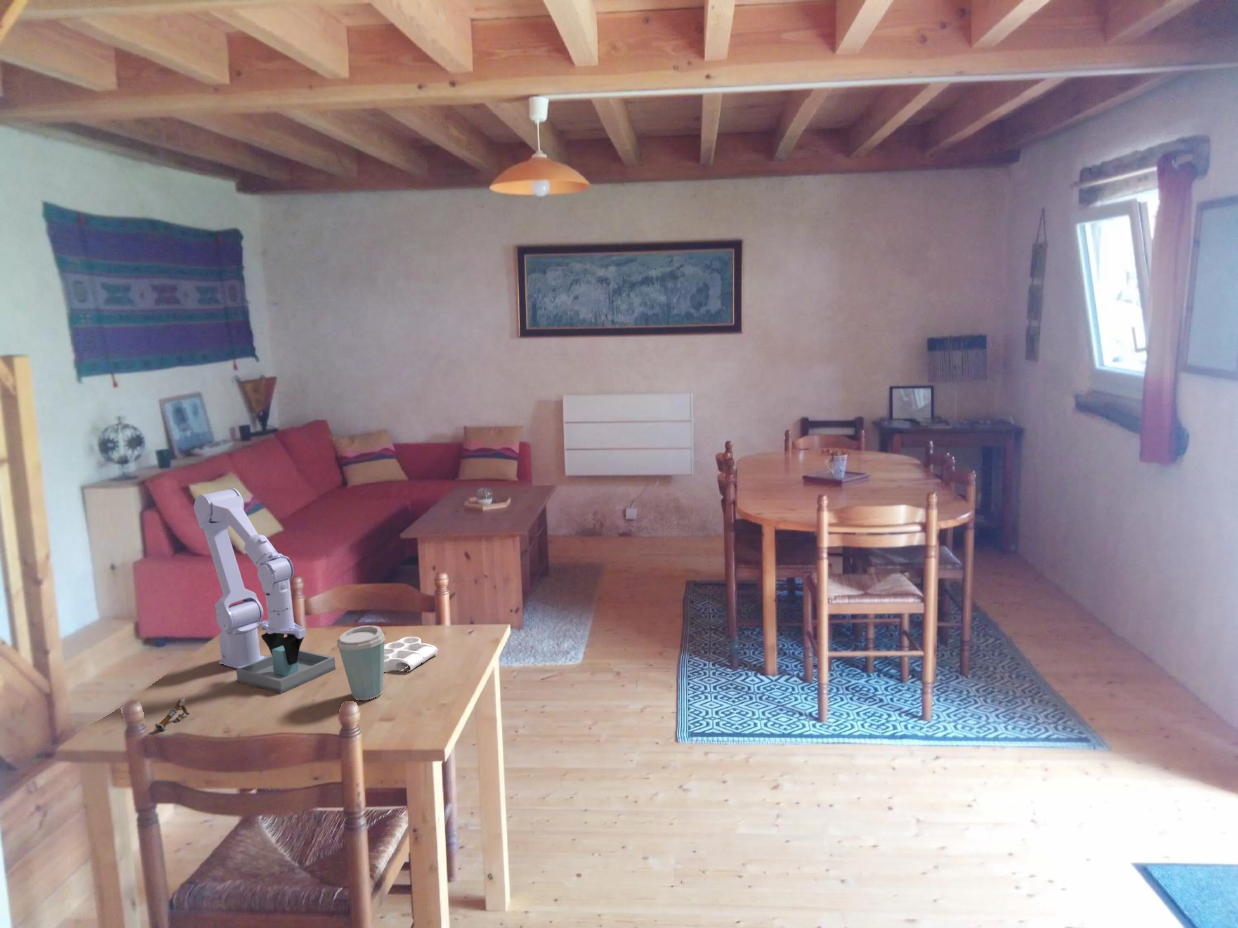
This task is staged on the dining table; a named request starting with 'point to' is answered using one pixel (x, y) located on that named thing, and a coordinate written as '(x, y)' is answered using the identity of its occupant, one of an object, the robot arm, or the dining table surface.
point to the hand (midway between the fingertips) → (285, 661)
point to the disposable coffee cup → (363, 660)
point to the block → (282, 662)
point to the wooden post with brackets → (170, 715)
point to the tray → (265, 678)
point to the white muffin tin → (407, 653)
